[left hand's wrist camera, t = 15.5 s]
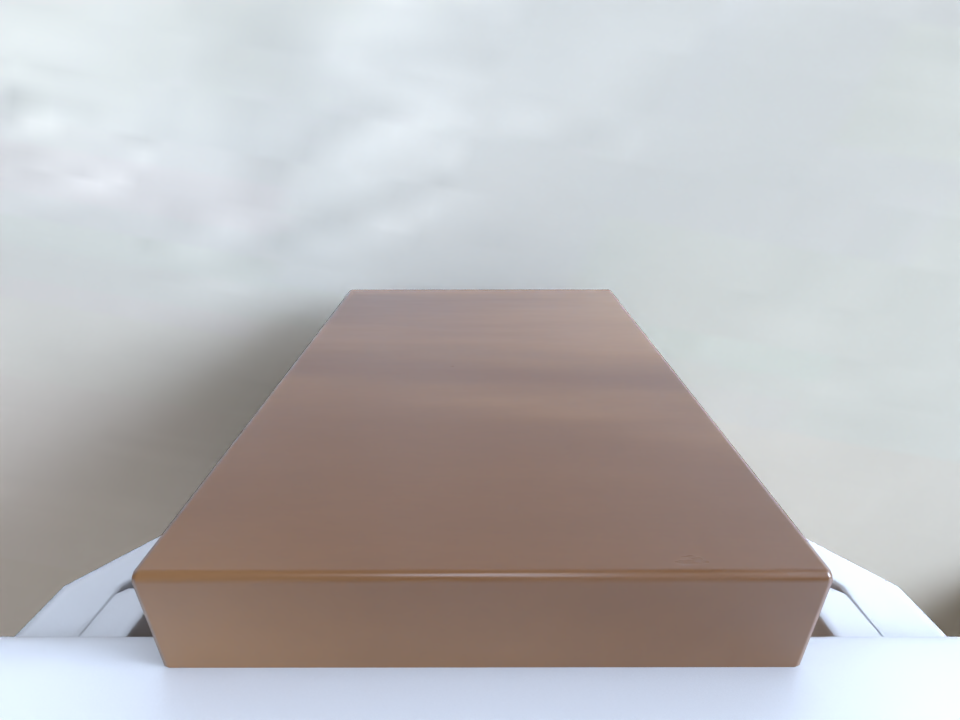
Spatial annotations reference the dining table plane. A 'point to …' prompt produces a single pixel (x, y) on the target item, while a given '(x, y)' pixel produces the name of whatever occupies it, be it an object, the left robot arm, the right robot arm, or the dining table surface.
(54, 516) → the dining table surface
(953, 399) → the dining table surface
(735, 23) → the dining table surface
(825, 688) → the left robot arm
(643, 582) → the box
